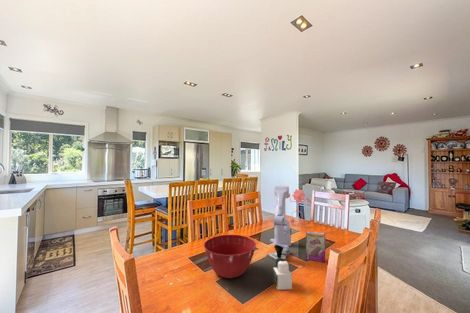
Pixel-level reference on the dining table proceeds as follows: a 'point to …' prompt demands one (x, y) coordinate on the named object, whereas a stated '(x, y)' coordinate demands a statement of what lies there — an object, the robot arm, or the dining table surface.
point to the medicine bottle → (282, 275)
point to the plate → (272, 257)
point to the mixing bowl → (229, 254)
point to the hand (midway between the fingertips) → (279, 257)
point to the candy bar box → (315, 246)
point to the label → (273, 255)
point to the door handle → (284, 254)
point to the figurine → (298, 196)
